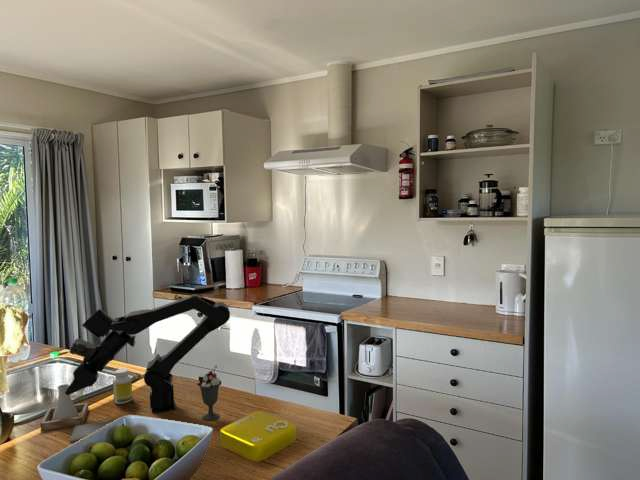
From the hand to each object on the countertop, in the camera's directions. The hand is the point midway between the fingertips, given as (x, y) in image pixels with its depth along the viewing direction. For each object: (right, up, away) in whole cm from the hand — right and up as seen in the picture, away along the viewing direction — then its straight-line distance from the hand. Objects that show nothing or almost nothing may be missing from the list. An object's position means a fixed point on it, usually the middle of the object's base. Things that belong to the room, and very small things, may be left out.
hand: (70, 388), depth 138 cm
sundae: (+41, -9, 0) cm, 42 cm away
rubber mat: (+10, -10, -8) cm, 15 cm away
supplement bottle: (+10, -8, +13) cm, 18 cm away
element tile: (+56, -10, -15) cm, 59 cm away
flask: (-2, -9, 0) cm, 10 cm away
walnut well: (-2, -9, 0) cm, 9 cm away
